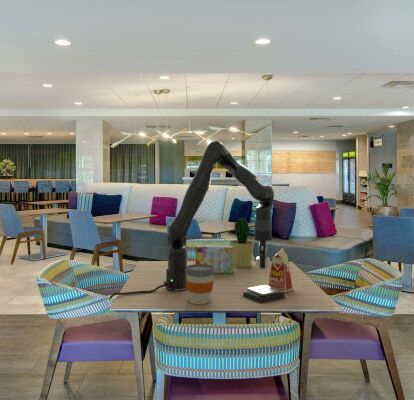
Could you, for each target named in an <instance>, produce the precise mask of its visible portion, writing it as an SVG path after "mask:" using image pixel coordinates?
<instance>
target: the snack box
mask: <svg viewBox="0 0 414 400" xmlns="http://www.w3.org/2000/svg"><path fill="white" fill-rule="evenodd" d="M194 255H195V256H194V257H195V258H194V259H195V262H194V264H205V265H211V266H213V267H214V274H233V273H234V271H233V270H234V269H233V267H234V266H233V246H230V245H196V246H195V254H194Z"/></svg>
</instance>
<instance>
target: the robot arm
mask: <svg viewBox="0 0 414 400" xmlns="http://www.w3.org/2000/svg"><path fill="white" fill-rule="evenodd" d="M216 164H217V165H219V166H221V167H222V168H224V169H225V170H227V171H228V172H229V173H230V174H231V175H232V177H234V179H235V180H236V181H237V182H239V183H240V184H241V185H242V186H243V187H244V188H245V189H246V190H247V192H248V193H249V194H250V197H252V198H253V199H254V200H256V201H259V204H258V205H257V206H256V207H255V209H254V215H255V218H254V219H255V220H254V240H255V241H259V243H258V255H259V256H258V257H259V259H260V268H265V259H266V257H267V254H268V245H269V243H267V242H269V241H270V242H271V240H272V238H273V237H272V234H273V232H272V229H273V228H272V227H273V225H272V224H273V223H272V208H273V204H274V201H275V200H274V199H275V191H274V189H273V187H272V186H271V185H269V184H261V183H260V182H259V178H258V177H257V176H256V174H254V173H253V172H252V171H251V170H249V169H248V168H247V167H246V166H244V165H243V164H241V163H240V162H239V161H238V160H236V159H235V157H234V156H233V155H232V154H231V152H230V151H229V150H228V149H227V146H225V145H224V144H223V143H222V142H220V141H219V140H213V141H210V142H209V143H208V144H207V145H206V148H205V149H204V153H203V155H202V157H201V161H200V163H199V165H198V167H197V170H196V171H195V173H194V176H193V177H192V179H191V181H190V183H189V185H188V186H187V189H186V191H185V194H184V197H183V199H182V202H181V206H180V209H179V211H178V213H177V214H176V216H175V218H174V220H172V221H170V222H169V224H168V226H167V268H166V269H165V273H166V275H165V276H166V277H165V279H166V280H164V281H163V284H161V285H158V286H157V287H155V288H154V289H151V290H137V291H127V292H114V293H112V294H111V295H110V296H109V298H108V300H109V299H110V300H111V299H112V298H114V297H115V296H118V295H119V296H127V295H135V294H148V293H149V294H150V293H153V292H156V291H158V290H159V289H161V288H163V287H165V288H166V289H167V290H169V291H172V292H175V291H176V292H179V291H185V290H187V284H186V279H187V277H186V274H185V273H186V266H188V247H187V246H188V245H187V235H188V232H189V230H190V227H191V224H192V222H193V219H194V217H195V215H196V213H197V212H198V210H199V208H200V207H201V205H202V203H203V201H204V200H205V198H206V196H207V194H208V192H209V189H210V185H211V178H212V173H213V170H214V168H215V166H216Z"/></svg>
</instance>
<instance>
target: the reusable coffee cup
mask: <svg viewBox="0 0 414 400" xmlns="http://www.w3.org/2000/svg"><path fill="white" fill-rule="evenodd" d="M185 274H186V277H187V279H186V284H187V289H186V290H187V292H188V301H189V303H191V304H194V305H206V304H209V303H210V302H211V297H212V291H213V288H214V275H215V273H214V267H213V266H211V265H205V264H195V263H193V264H189V265H187V266H186V273H185Z"/></svg>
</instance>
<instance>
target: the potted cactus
mask: <svg viewBox="0 0 414 400" xmlns="http://www.w3.org/2000/svg"><path fill="white" fill-rule="evenodd" d="M233 227H234V230H233V232H235V234H236V239H234V240H230V241H228V242H229V246H233V267H234V268H241V269H242V268H250V267H251V266H252V261H253V254H254V249H255V241H253V240H248V239H249V237H248V236H249V235H250V231H251V230H250V225H249V222H248V220H247V219H246V218H245V217H244V218H243V217H240V218H237V220H236V221H235V222H234V225H233Z"/></svg>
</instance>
